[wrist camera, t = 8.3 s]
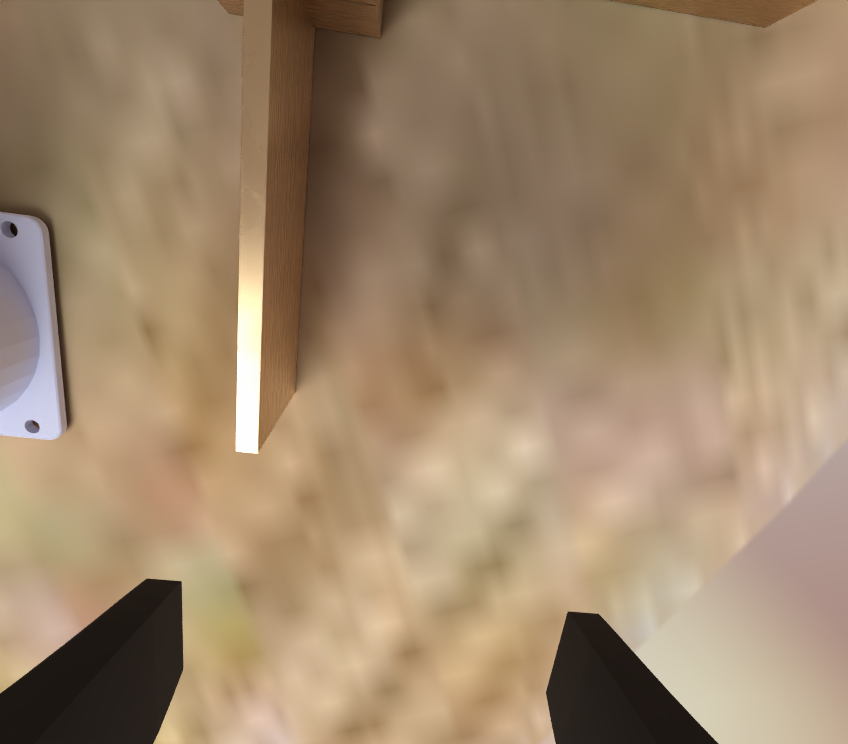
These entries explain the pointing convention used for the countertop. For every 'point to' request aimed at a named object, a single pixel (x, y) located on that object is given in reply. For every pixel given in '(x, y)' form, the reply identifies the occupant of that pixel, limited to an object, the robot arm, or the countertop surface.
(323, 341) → the countertop surface
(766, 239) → the countertop surface
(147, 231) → the countertop surface
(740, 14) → the hinge leaves
